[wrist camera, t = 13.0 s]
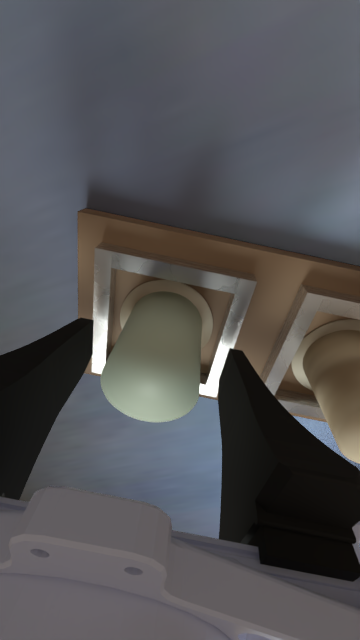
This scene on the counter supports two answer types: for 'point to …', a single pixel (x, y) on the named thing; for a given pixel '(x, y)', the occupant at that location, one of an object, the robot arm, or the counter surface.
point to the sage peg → (156, 359)
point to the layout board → (217, 298)
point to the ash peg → (338, 386)
